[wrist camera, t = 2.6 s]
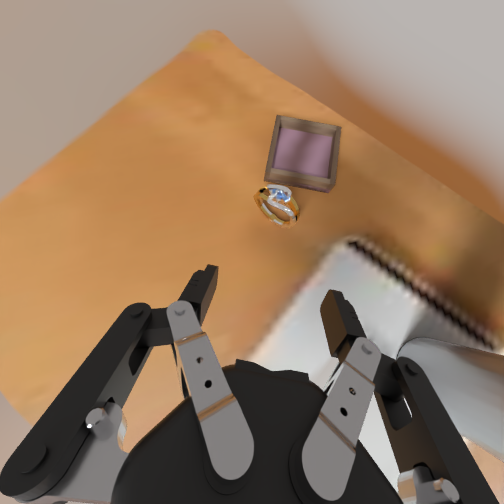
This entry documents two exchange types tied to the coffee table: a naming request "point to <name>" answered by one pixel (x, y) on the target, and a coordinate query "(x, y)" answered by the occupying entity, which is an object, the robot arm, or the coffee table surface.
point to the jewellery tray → (303, 154)
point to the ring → (278, 196)
